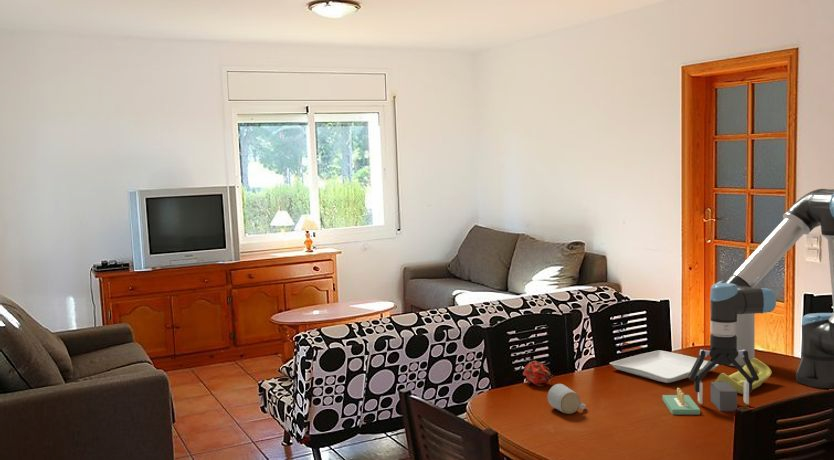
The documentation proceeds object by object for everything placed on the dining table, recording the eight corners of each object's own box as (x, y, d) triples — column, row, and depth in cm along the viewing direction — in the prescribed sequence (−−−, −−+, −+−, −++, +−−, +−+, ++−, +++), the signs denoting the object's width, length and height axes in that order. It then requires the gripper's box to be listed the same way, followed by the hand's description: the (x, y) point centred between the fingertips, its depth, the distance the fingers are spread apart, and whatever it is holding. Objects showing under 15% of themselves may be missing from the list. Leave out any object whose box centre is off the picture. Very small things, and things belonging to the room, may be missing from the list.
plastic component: (744, 389, 242) (718, 370, 249) (736, 406, 246) (710, 387, 252) (777, 372, 254) (751, 354, 260) (768, 389, 257) (743, 371, 264)
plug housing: (707, 396, 243) (707, 378, 242) (723, 396, 242) (723, 378, 242) (719, 411, 229) (719, 391, 229) (737, 411, 229) (737, 391, 228)
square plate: (659, 358, 291) (659, 348, 291) (721, 374, 268) (721, 363, 268) (608, 371, 277) (608, 360, 277) (669, 388, 254) (668, 377, 254)
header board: (688, 399, 241) (688, 384, 240) (700, 414, 227) (700, 398, 226) (662, 399, 242) (662, 384, 241) (672, 414, 228) (672, 398, 227)
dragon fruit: (526, 383, 270) (550, 396, 260) (512, 373, 265) (535, 386, 255) (539, 362, 271) (562, 374, 261) (525, 352, 266) (548, 364, 257)
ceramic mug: (561, 417, 229) (561, 392, 229) (547, 409, 237) (546, 384, 236) (591, 412, 233) (591, 387, 233) (576, 404, 241) (576, 380, 240)
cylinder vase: (751, 368, 272) (751, 299, 269) (714, 364, 278) (714, 297, 276) (757, 360, 282) (757, 293, 280) (721, 356, 289) (721, 291, 287)
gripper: (684, 337, 229) (683, 406, 231) (770, 337, 227) (769, 406, 229) (678, 331, 237) (678, 398, 239) (762, 331, 234) (761, 398, 236)
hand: (723, 402), depth 234 cm, fingers open, 13 cm apart
